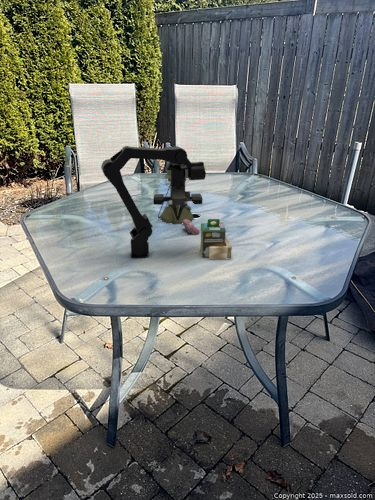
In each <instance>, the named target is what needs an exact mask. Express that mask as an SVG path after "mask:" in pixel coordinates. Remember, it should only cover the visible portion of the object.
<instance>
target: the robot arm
mask: <svg viewBox="0 0 375 500" xmlns="http://www.w3.org/2000/svg"><path fill="white" fill-rule="evenodd" d="M132 159H135V160H140V159H141V160H158V161H165V162H168V163H167V165H166V166H164V169H165V170H166V171H167V170H170V182H169V183H170V184H169V186H170V188H169V192H170V193H169V195H170V196H166V197H165V196H164V193H155V194H154V195H153V197H152V198H153V202H152V203H153V205H155V206H157V205H158V206H159V205H160V206H162V204H163V205H164V203H165V202H167V203H168V204H167V206H168V205H169V206H171V207H172V209H173V211H174V213H175V216H176V219H177V221H179V219H180V216H181V213H182V210H183V208H184V207H185V206H188V202H192V203H193V205H203V201H204V200H203V195H202V194H201V193H191V191H186V181H185V173H186V179H187V180H188V181H200V180H201V181H203V180H205V179H206V175H207V173H206V172H207V171H206V168H205V167H206V166H205V163H204V161H196V162H195V161H193V162H191V160H190V159H189V158H188V154H187V151H186V150H185V149H183V148H182V147H180V146H178V145H174V146H167V147H162V148H161V147H160V148H156V147H155V148H154V147H138V146H137V147H136V146H129V145H125V146H123V147H122V149H120V150H119V151H118V152H117V153H115V154H114V155H112V156H111V157H110V158H108V159H105V160H103V162H102V163H101V167H100V169H101V171H102V173H103V175H104V176H105V178H106V179H107V180H108V181H109V183H110V184H111V185H112V186H113V187H114V188H115V190H116V192H117V194H118V196H119V197H120V199H121V201H122V203H123V205H124V206H125V208H126V210H127V212H128V213H129V215H130V217H131V220H132V223H133V228H132V229H131V230H130V232H129V235H130V237H131V238H130V251H131V252H130V258H134V259H135V258H137V259H138V258H148V255H149V254H150V247H149V245H150V244H149V242H148V241H149V239H150V237H151V236H152V235H153V227H154V226H153V225H152V223H151V221H150V220H149V217H148V216H147V214H146V213H144V214H141V211H139V209H138V206H137V205H136V203H135V201H134V199H133V197H132V196H131V194H130V192H129V190H128V188H127V187H126V184H125V182H124V179H123V175H122V172H121V170H122V169H123V168H124V167H125V166H126V164H127V163H128V162H129V161H130V160H132ZM169 162H171V163H175V164H183V165H185V167H180V165H172V164H171V163H169ZM185 169H186V171H185ZM176 205H179V209H178V215H177V207H176Z"/></svg>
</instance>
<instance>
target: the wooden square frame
mask: <svg viewBox="0 0 375 500" xmlns="http://www.w3.org/2000/svg"><path fill="white" fill-rule="evenodd" d="M232 251H233V249H232V246H231V244H230V241H229V240H228V238H227V236H226V235H225V246H209V257H208V260H209V259H218V260H226V259H225V258H231V259H232Z"/></svg>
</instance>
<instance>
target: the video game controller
mask: <svg viewBox="0 0 375 500" xmlns="http://www.w3.org/2000/svg"><path fill="white" fill-rule="evenodd" d="M182 223H183V224H181V226H184V228H185V229H186V230H188V231H187V232H188V233H189V234H195V235H199V234H201V230H200V229H198V228H197V227H196V226H194V224H193V223H192V221H190V220H187V219H186V220H183V221H182Z"/></svg>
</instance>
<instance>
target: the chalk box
mask: <svg viewBox="0 0 375 500" xmlns="http://www.w3.org/2000/svg"><path fill="white" fill-rule="evenodd" d="M220 220H221V219H220V218H209V219H207V222H202V223H200V252H201V256H202V258H209V246H225V236H226V231H227V229H226V227H225V224H224V222H221V221H220Z"/></svg>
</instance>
